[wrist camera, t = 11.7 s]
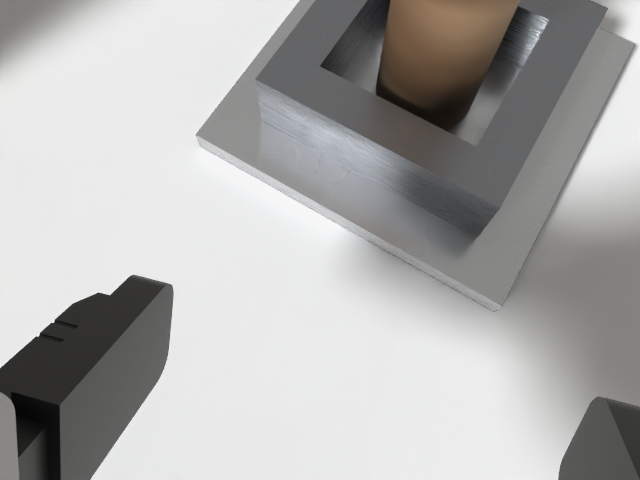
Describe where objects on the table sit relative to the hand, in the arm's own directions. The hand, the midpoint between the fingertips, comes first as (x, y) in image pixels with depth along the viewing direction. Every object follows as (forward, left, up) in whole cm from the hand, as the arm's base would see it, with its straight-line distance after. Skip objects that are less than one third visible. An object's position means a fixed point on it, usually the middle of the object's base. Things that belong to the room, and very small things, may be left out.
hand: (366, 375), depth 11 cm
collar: (-3, +11, -8) cm, 14 cm away
